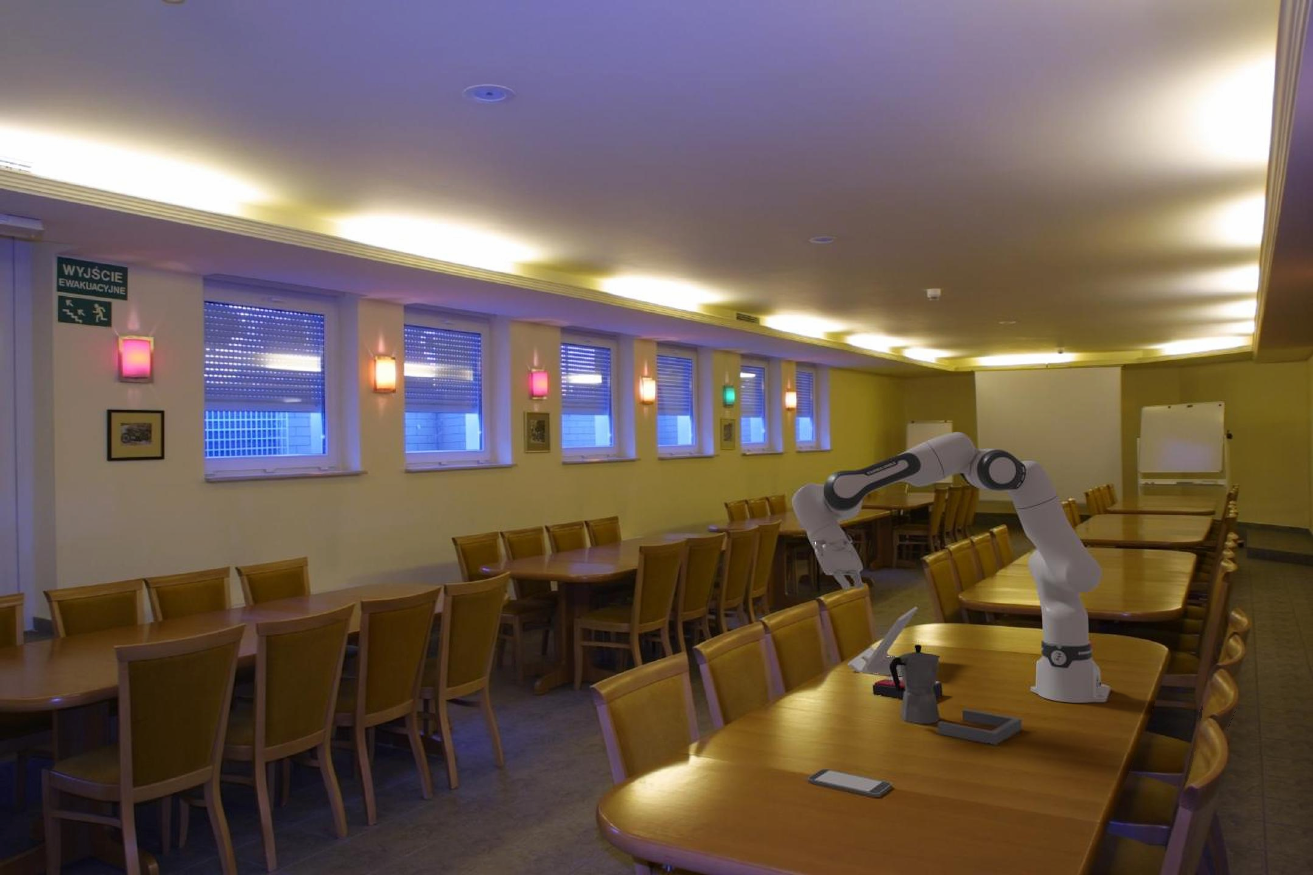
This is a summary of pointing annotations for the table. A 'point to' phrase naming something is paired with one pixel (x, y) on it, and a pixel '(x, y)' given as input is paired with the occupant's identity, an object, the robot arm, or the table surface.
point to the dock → (1004, 730)
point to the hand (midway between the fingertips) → (854, 588)
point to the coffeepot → (917, 686)
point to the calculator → (889, 690)
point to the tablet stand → (882, 650)
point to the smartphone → (850, 782)
